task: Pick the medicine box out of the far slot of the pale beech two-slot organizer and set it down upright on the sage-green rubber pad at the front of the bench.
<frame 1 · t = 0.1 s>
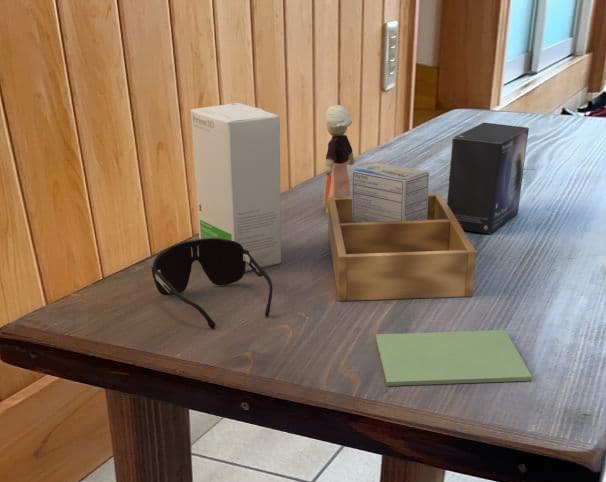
organizer: (393, 263, 95), on the table
grandmother figurine: (337, 212, 113), on the table
cosmetic box: (243, 261, 98), on the table
small box: (482, 223, 108), on the table
pad: (449, 358, 74), on the table
sunglasses: (218, 306, 86), on the table
medicine box: (388, 250, 100), resting in organizer
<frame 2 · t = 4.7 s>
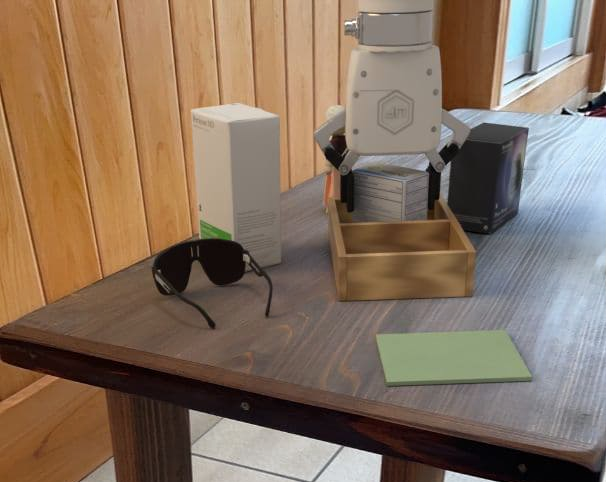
hand: (389, 207, 97), 5 cm above the table, tool pointing down, fingers closed on medicine box, 8 cm apart
medicine box: (388, 250, 100), resting in organizer, touching gripper
everything else where it was.
when the fingers open (5 cm above the table, at t = 13.3 s): medicine box stays where it is, resting on pad.
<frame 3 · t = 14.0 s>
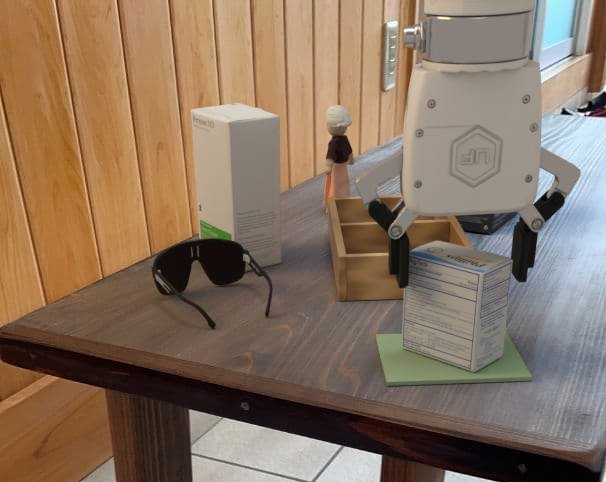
hand: (459, 279, 70), 7 cm above the table, tool pointing down, fingers open, 9 cm apart
medicine box: (450, 356, 74), resting on pad, touching gripper
everything else where it was.
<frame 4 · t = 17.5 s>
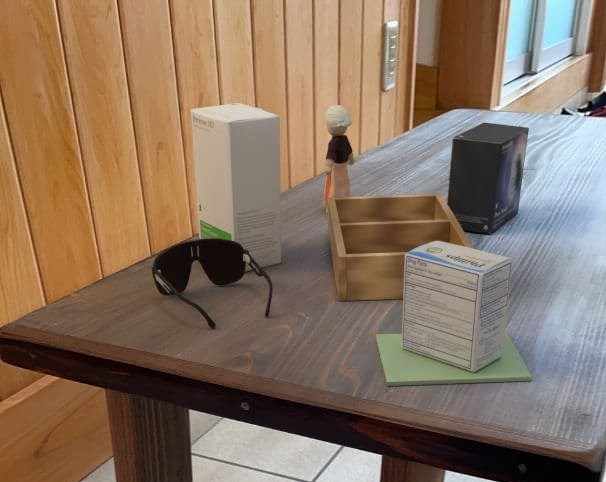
medicine box: (450, 356, 74), resting on pad
everything else where it was.
at the end: medicine box inside the target area on the pad (0.1 cm from its centre), point 0.2 cm above the pad's base; medicine box tilted 0°; the gripper is holding nothing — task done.
